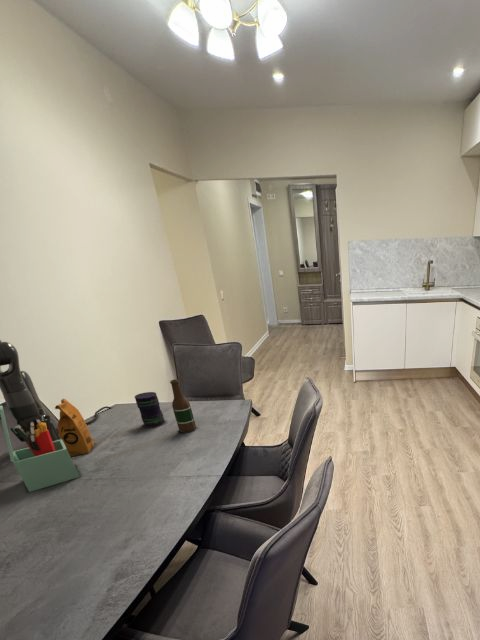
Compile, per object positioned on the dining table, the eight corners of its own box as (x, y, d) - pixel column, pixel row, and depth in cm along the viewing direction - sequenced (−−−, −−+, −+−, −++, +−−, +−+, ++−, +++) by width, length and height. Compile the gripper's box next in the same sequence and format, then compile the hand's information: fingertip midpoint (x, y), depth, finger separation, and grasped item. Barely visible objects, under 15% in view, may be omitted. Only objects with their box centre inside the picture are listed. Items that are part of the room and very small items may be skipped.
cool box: (74, 465, 158) (61, 439, 152) (79, 476, 150) (66, 448, 144) (26, 479, 150) (11, 451, 144) (29, 492, 141) (13, 462, 135)
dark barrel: (169, 421, 199) (160, 393, 191) (153, 428, 191) (143, 399, 184) (155, 419, 203) (146, 391, 195) (139, 426, 195) (129, 397, 188)
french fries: (31, 457, 143) (15, 427, 137) (35, 453, 146) (20, 423, 140) (57, 453, 145) (42, 423, 139) (61, 449, 148) (46, 420, 142)
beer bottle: (199, 427, 190) (186, 378, 178) (188, 433, 184) (174, 383, 172) (187, 425, 193) (173, 377, 181) (175, 431, 186) (160, 382, 174)
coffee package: (64, 457, 166) (41, 408, 155) (73, 446, 176) (52, 399, 165) (90, 453, 168) (69, 404, 157) (98, 442, 178) (78, 396, 167)
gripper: (30, 396, 142) (50, 439, 151) (-8, 409, 130) (16, 455, 139) (47, 396, 141) (67, 439, 150) (11, 410, 129) (34, 456, 138)
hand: (42, 447), depth 144 cm, fingers closed on french fries, 4 cm apart
